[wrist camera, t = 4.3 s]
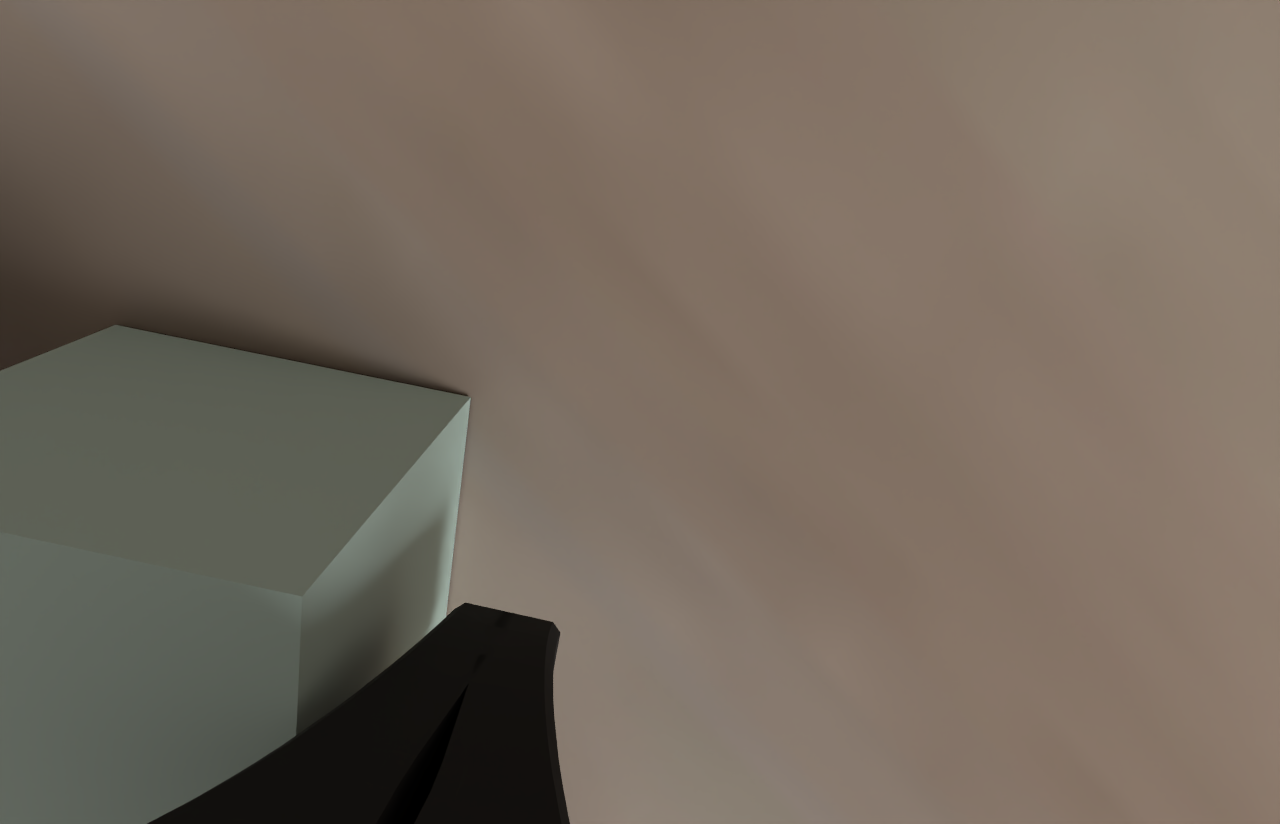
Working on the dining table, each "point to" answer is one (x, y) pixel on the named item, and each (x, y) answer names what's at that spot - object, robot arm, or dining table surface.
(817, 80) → the dining table surface
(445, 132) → the dining table surface
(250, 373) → the block
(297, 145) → the dining table surface
